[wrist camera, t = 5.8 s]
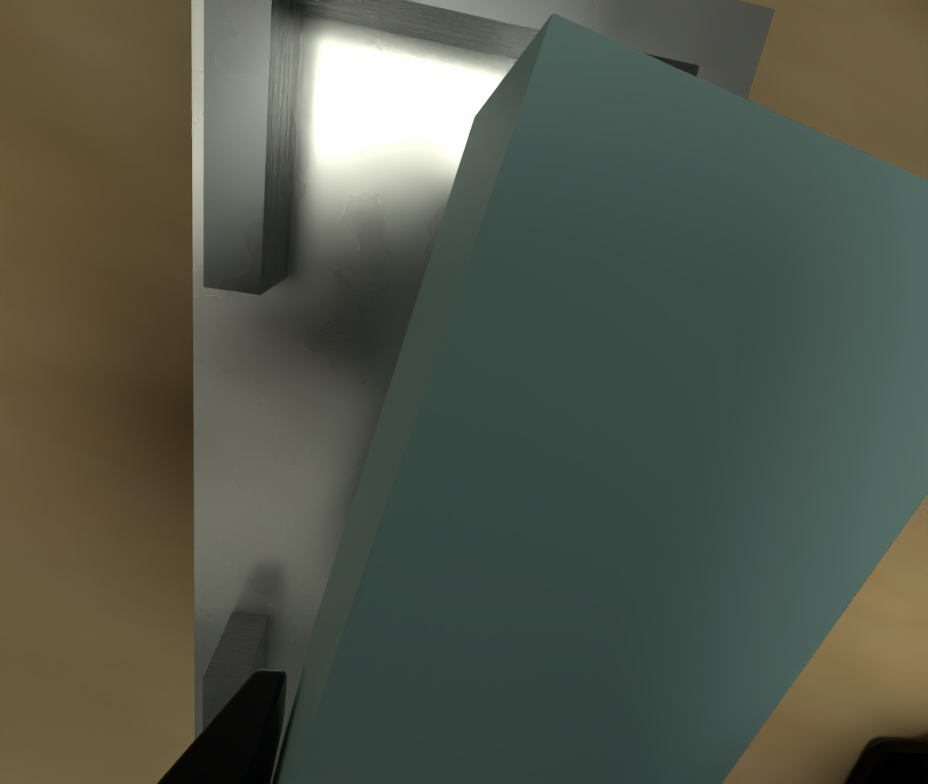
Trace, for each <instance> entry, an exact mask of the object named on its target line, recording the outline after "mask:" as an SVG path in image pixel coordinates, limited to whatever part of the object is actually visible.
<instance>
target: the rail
mask: <svg viewBox="0 0 928 784" xmlns="http://www.w3.org/2000/svg"><path fill="white" fill-rule="evenodd" d="M927 494H928V180H926V179H924V178H921V177H919V176H917V175H915V174H913V173H910V172H908V171H906V170H904V169H901V168H899V167H897V166H895V165H892V164H890V163H888V162H886V161H883V160H881V159H879V158H877V157H875V156H872V155H870V154H868V153H866V152H863V151H861V150H859V149H857V148H854V147H852V146H850V145H848V144H845V143H843V142H841V141H839V140H836V139H834V138H832V137H830V136H828V135H825V134H823V133H821V132H819V131H816V130H814V129H812V128H810V127H807V126H805V125H803V124H801V123H798V122H796V121H794V120H792V119H790V118H787V117H785V116H783V115H781V114H778V113H776V112H774V111H772V110H769V109H767V108H765V107H763V106H760V105H758V104H756V103H754V102H751V101H749V100H747V99H745V98H743V97H740V96H738V95H736V94H734V93H731V92H729V91H727V90H725V89H722V88H720V87H718V86H716V85H713V84H711V83H709V82H707V81H705V80H702V79H700V78H698V77H696V76H693V75H691V74H689V73H687V72H684V71H682V70H680V69H678V68H675V67H673V66H671V65H669V64H666V63H664V62H662V61H660V60H658V59H655V58H653V57H651V56H649V55H646V54H644V53H642V52H640V51H637V50H635V49H633V48H631V47H628V46H626V45H624V44H622V43H620V42H617V41H615V40H613V39H611V38H608V37H606V36H604V35H602V34H599V33H597V32H595V31H593V30H590V29H588V28H586V27H584V26H581V25H579V24H577V23H575V22H573V21H570V20H568V19H566V18H564V17H561V16H559V15H557V14H555V13H552V15H551V16H550V17H549V19H548V20H547V21H546V23H545V24H544V25H543V27H542V28H541V29H540V31H539V32H538V33H537V34H536V36H535V37H534V38H533V40H532V41H531V42H530V44H529V45H528V46H527V48H526V49H525V50H524V52H523V53H522V54H521V56H520V57H519V58H518V60H517V61H516V62H515V64H514V65H513V66H512V68H511V69H510V70H509V72H508V73H507V74H506V76H505V77H504V78H503V80H502V81H501V82H500V84H499V85H498V86H497V87H496V89H495V90H494V91H493V93H492V94H491V95H490V97H489V98H488V99H487V101H486V102H485V103H484V105H483V106H482V107H481V109H480V110H479V111H478V113H477V114H476V115H475V117H474V119H473V123H472V126H471V129H470V132H469V135H468V138H467V142H466V145H465V148H464V151H463V154H462V158H461V161H460V164H459V167H458V170H457V173H456V177H455V180H454V183H453V186H452V189H451V192H450V196H449V199H448V202H447V205H446V208H445V211H444V215H443V218H442V221H441V224H440V227H439V230H438V234H437V237H436V240H435V243H434V246H433V249H432V253H431V256H430V259H429V262H428V265H427V268H426V272H425V275H424V278H423V281H422V284H421V287H420V291H419V294H418V297H417V300H416V303H415V306H414V310H413V313H412V316H411V319H410V322H409V325H408V329H407V332H406V335H405V338H404V341H403V344H402V348H401V351H400V354H399V357H398V360H397V363H396V367H395V370H394V373H393V376H392V379H391V382H390V386H389V389H388V392H387V395H386V398H385V401H384V405H383V408H382V411H381V414H380V417H379V421H378V424H377V427H376V430H375V433H374V436H373V440H372V443H371V446H370V449H369V452H368V455H367V459H366V462H365V465H364V468H363V471H362V474H361V478H360V481H359V484H358V487H357V490H356V493H355V497H354V500H353V503H352V506H351V509H350V512H349V516H348V519H347V522H346V525H345V528H344V531H343V535H342V538H341V541H340V544H339V547H338V550H337V554H336V557H335V560H334V563H333V566H332V569H331V573H330V576H329V579H328V582H327V585H326V588H325V592H324V595H323V598H322V601H321V604H320V607H319V611H318V614H317V617H316V620H315V623H314V626H313V630H312V633H311V636H310V639H309V642H308V645H307V649H306V652H305V655H304V658H303V661H302V664H301V668H300V671H299V674H298V677H297V680H296V684H295V687H294V690H293V693H292V696H291V699H290V703H289V706H288V709H287V712H286V715H285V718H284V722H283V727H282V732H281V737H280V741H279V746H278V751H277V755H276V760H275V764H274V769H273V774H272V778H271V783H270V784H722V782H723V781H724V779H725V778H726V777H727V775H728V774H729V772H730V771H731V770H732V768H733V767H734V765H735V764H736V762H737V761H738V760H739V758H740V757H741V755H742V754H743V753H744V751H745V750H746V748H747V747H748V746H749V744H750V743H751V741H752V740H753V739H754V737H755V736H756V734H757V733H758V732H759V730H760V729H761V727H762V726H763V724H764V723H765V722H766V720H767V719H768V717H769V716H770V715H771V713H772V712H773V710H774V709H775V708H776V706H777V705H778V703H779V702H780V701H781V699H782V698H783V696H784V695H785V694H786V692H787V691H788V689H789V688H790V686H791V685H792V684H793V682H794V681H795V679H796V678H797V677H798V675H799V674H800V672H801V671H802V670H803V668H804V667H805V665H806V664H807V663H808V661H809V660H810V658H811V657H812V656H813V654H814V653H815V651H816V650H817V648H818V647H819V646H820V644H821V643H822V641H823V640H824V639H825V637H826V636H827V634H828V633H829V632H830V630H831V629H832V627H833V626H834V625H835V623H836V622H837V620H838V619H839V618H840V616H841V615H842V613H843V612H844V611H845V609H846V608H847V606H848V605H849V603H850V602H851V601H852V599H853V598H854V596H855V595H856V594H857V592H858V591H859V589H860V588H861V587H862V585H863V584H864V582H865V581H866V580H867V578H868V577H869V575H870V574H871V573H872V571H873V570H874V568H875V567H876V565H877V564H878V563H879V561H880V560H881V558H882V557H883V556H884V554H885V553H886V551H887V550H888V549H889V547H890V546H891V544H892V543H893V542H894V540H895V539H896V537H897V536H898V535H899V533H900V532H901V530H902V529H903V527H904V526H905V525H906V523H907V522H908V520H909V519H910V518H911V516H912V515H913V513H914V512H915V511H916V509H917V508H918V506H919V505H920V504H921V502H922V501H923V499H924V498H925V497H926V495H927Z"/></svg>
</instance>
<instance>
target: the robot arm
mask: <svg viewBox="0 0 928 784" xmlns="http://www.w3.org/2000/svg"><path fill="white" fill-rule="evenodd" d="M286 685H287V674H286V672H285V671H283V670H275V669H258V670H256V671H255V672H254V673H253V674H252V675H251V676H250V677H249V678H248V679H247V681H246V682H245V683H244V684H243V685H242V686H241V687H240V689H239V690H238V691H237V692H236V693H235V694H234V696H233V697H232V698H231V699H230V700H229V701H228V702H227V704H226V705H225V706H224V707H223V708H222V709H221V711H220V712H219V713H218V714H217V715H216V716H215V717H214V719H213V720H212V721H211V722H210V723H209V724H208V726H207V727H206V728H205V729H204V730H203V731H202V732H201V734H200V735H199V736H198V737H197V738H196V739H195V741H194V742H193V743H192V744H191V745H190V746H189V747H188V749H187V750H186V751H185V752H184V753H183V754H182V756H181V757H180V758H179V759H178V760H177V761H176V762H175V764H174V765H173V766H172V767H171V768H170V769H169V771H168V772H167V773H166V774H165V775H164V776H163V777H162V779H161V780H160V781H159V782H158V783H157V784H270V783H271V778H272V774H273V769H274V764H275V760H276V755H277V751H278V746H279V741H280V737H281V732H282V727H283V721H284V713H285V699H286ZM850 784H928V744H922V743H901V742H882V743H879V744H877V745H875V746H874V747H873V748H872V749H871V750H870V752H869V753H868V755H867V757H866V758H865V760H864V762H863V763H862V765H861V767H860V768H859V770H858V772H857V773H856V775H855V777H854V778H853V780H852V782H851V783H850Z"/></svg>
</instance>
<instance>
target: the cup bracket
mask: <svg viewBox="0 0 928 784" xmlns="http://www.w3.org/2000/svg"><path fill="white" fill-rule="evenodd" d="M191 2H192V207H193V413H194V618H195V739H196V738H197V737H198V736H199V735H200V734H201V732H202V731H203V730H204V729H205V728H206V727H207V726H208V724H209V723H210V722H211V721H212V720H213V719H214V717H215V716H216V715H217V714H218V713H219V712H220V711H221V709H222V708H223V707H224V706H225V705H226V704H227V702H228V701H229V700H230V699H231V698H232V697H233V696H234V694H235V693H236V692H237V691H238V690H239V689H240V687H241V686H242V685H243V684H244V683H245V682H246V681H247V679H248V678H249V677H250V676H251V675H252V674H253V673H254V672H255V671H256V670H258V669H275V670H283V671H285V672H286V674H287V685H286V699H285V713H284V718H285V715H286V712H287V709H288V706H289V703H290V699H291V696H292V693H293V690H294V687H295V684H296V680H297V677H298V674H299V671H300V668H301V664H302V661H303V658H304V655H305V652H306V649H307V645H308V642H309V639H310V636H311V633H312V630H313V626H314V623H315V620H316V617H317V614H318V611H319V607H320V604H321V601H322V598H323V595H324V592H325V588H326V585H327V582H328V579H329V576H330V573H331V569H332V566H333V563H334V560H335V557H336V554H337V550H338V547H339V544H340V541H341V538H342V535H343V531H344V528H345V525H346V522H347V519H348V516H349V512H350V509H351V506H352V503H353V500H354V497H355V493H356V490H357V487H358V484H359V481H360V478H361V474H362V471H363V468H364V465H365V462H366V459H367V455H368V452H369V449H370V446H371V443H372V440H373V436H374V433H375V430H376V427H377V424H378V421H379V417H380V414H381V411H382V408H383V405H384V401H385V398H386V395H387V392H388V389H389V386H390V382H391V379H392V376H393V373H394V370H395V367H396V363H397V360H398V357H399V354H400V351H401V348H402V344H403V341H404V338H405V335H406V332H407V329H408V325H409V322H410V319H411V316H412V313H413V310H414V306H415V303H416V300H417V297H418V294H419V291H420V287H421V284H422V281H423V278H424V275H425V272H426V268H427V265H428V262H429V259H430V256H431V253H432V249H433V246H434V243H435V240H436V237H437V234H438V230H439V227H440V224H441V221H442V218H443V215H444V211H445V208H446V205H447V202H448V199H449V196H450V192H451V189H452V186H453V183H454V180H455V177H456V173H457V170H458V167H459V164H460V161H461V158H462V154H463V151H464V148H465V145H466V142H467V138H468V135H469V132H470V129H471V126H472V123H473V119H474V117H475V115H476V114H477V113H478V111H479V110H480V109H481V107H482V106H483V105H484V103H485V102H486V101H487V99H488V98H489V97H490V95H491V94H492V93H493V91H494V90H495V89H496V87H497V86H498V85H499V84H500V82H501V81H502V80H503V78H504V77H505V76H506V74H507V73H508V72H509V70H510V69H511V68H512V66H513V65H514V64H515V62H516V61H517V60H518V58H519V57H520V56H521V54H522V53H523V52H524V50H525V49H526V48H527V46H528V45H529V44H530V42H531V41H532V40H533V38H534V37H535V36H536V34H537V33H538V32H539V31H540V29H541V28H542V27H543V25H544V24H545V23H546V21H547V20H548V19H549V17H550V16H551V15H552V13H555V14H557V15H559V16H561V17H564V18H566V19H568V20H570V21H573V22H575V23H577V24H579V25H581V26H584V27H586V28H588V29H590V30H593V31H595V32H597V33H599V34H602V35H604V36H606V37H608V38H611V39H613V40H615V41H617V42H620V43H622V44H624V45H626V46H628V47H631V48H633V49H635V50H637V51H640V52H642V53H644V54H646V55H649V56H651V57H653V58H655V59H658V60H660V61H662V62H664V63H666V64H669V65H671V66H673V67H675V68H678V69H680V70H682V71H684V72H687V73H689V74H691V75H693V76H696V77H698V78H700V79H702V80H705V81H707V82H709V83H711V84H713V85H716V86H718V87H720V88H722V89H725V90H727V91H729V92H731V93H734V94H736V95H738V96H740V97H743V98H745V99H747V98H748V95H749V91H750V88H751V85H752V82H753V78H754V75H755V72H756V69H757V65H758V62H759V59H760V56H761V52H762V49H763V46H764V43H765V40H766V36H767V33H768V30H769V27H770V23H771V20H772V17H773V14H774V10H775V9H771V8H767V7H762V6H758V5H754V4H750V3H746V2H742V1H738V0H191ZM283 722H284V721H283Z"/></svg>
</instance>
